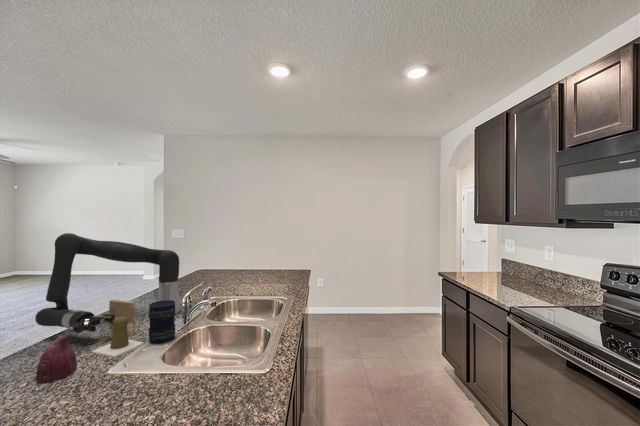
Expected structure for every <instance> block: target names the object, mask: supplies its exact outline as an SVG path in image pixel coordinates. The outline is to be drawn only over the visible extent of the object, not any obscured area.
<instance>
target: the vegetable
mask: <svg viewBox="0 0 640 426" xmlns="http://www.w3.org/2000/svg"><path fill="white" fill-rule="evenodd" d="M77 369H78V365H77V356H76V353H75V350H74V349H73V348H72V346H71V345H70V341H69V337H68V335H67V334H66V333H64V332H63V333H62V334H61V335H59V336H58V337H57V338H56V339H55V340H54V341H53V342H52V343H50V344H49V345H48V346H47V347H46V348H45V349H44V351H43V353H42V355H41V356H40V358H39V361H38V364H37V367H36V375H35V376H36V377H35V380H36V382H37V383H40V384H48V383H51V382H52V383H53V382H55V381H58V380H61V379H65V378H67V377H69V376H71V375H73V374H74V373H75V372H76V371H77Z"/></svg>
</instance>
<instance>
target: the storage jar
mask: <svg viewBox="0 0 640 426" xmlns="http://www.w3.org/2000/svg"><path fill="white" fill-rule="evenodd" d="M148 308H149V309H148V319H149V328H148V338H149V339H148V343H149V342H150V343H149V344H152V345H161V344H166V343H169V342H172V341H174V340H175V338H176V324H175V322H176V321H175V318H176V317H175V316H176V314H175V301H172V300H164V301H159V300H158V301H155V302H151V303H150V304H149V305H148Z"/></svg>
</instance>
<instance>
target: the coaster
mask: <svg viewBox="0 0 640 426" xmlns="http://www.w3.org/2000/svg"><path fill="white" fill-rule="evenodd" d="M128 341H129V345H128V346H126V347H123V348H119V349H112V348H110V346H111V342H110V343H108V344H107V345H103V346H101V347H98V348H95V349H94V350H92V351H91V353H92V354H95V355H100V356H106V357H110V358H117V357H119V356H121V355H123V354H126V353H127V352H130V351H133V350H135V349H136V348H139V347H141V346H143V345H145V342H142V341H138V340H132V339H128Z"/></svg>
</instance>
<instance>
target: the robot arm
mask: <svg viewBox="0 0 640 426" xmlns="http://www.w3.org/2000/svg"><path fill="white" fill-rule="evenodd" d="M76 255H84V256H85V255H88V256H95V257H98V258H101V259H105V260H110V261H114V262H115V261H116V262H122V263H146V264H147V263H148V264H154V265H157V266H159V267H158V268H159V271H158V301H164V300H172V301H175V315H177V314H178V313H179V312H180V309H181V305H180V303H181V299H180V297H181V296H180V293H179V276H180V275H179V274H180V257H179V255H178V254H177V252H175V251H174V250H169V249H168V250H167V249H154V248H148V247H145V246H141V245H139V244H134V243H127V242H121V241H113V240H97V239H90V238H88V237H83V236H80V235H77V234H75V233H72V232H71V233H70V232H67V233H63V234H62V233H61V234H60V235H59V236H58V237H57V238H56V239H55V241H54V261H53V269H52V273H51V276H50V279H49V283H48V286H47V291H46V295H45V296H46V297H45V300H46V301H47V302H49V303H55V307H46V308H42V309H40V310H39V311H38V312H37V313H36V315H35V319H34V320H35V323H37V325H38V326H41V327H60V328H66V329H69V332H73V333H77V334H80V333H82V332H87V331H88V332H92V333H94V332H96V328H97V326H103V325H105V324H109V323H111V324H113V320H114V319H115V315H112V314H109V313H103V314H102V315H95V314H94V312H90V311H87V310H86V311H85V310H75V309H74V310H73V309H69V303H68V294H69V289H70V286H71V278H72V269H73V264H74V260H75V257H76ZM101 321H102V322H101Z"/></svg>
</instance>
